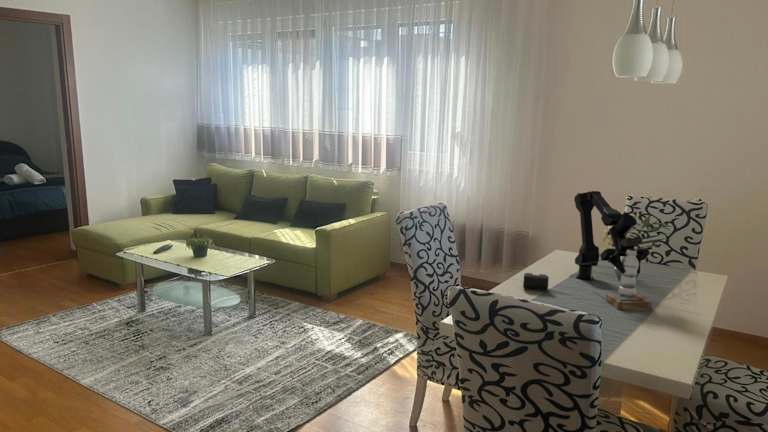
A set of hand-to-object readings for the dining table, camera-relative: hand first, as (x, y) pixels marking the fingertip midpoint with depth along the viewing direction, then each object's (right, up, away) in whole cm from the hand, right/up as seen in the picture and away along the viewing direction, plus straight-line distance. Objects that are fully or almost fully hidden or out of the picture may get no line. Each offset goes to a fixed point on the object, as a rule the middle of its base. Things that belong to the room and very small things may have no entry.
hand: (631, 273), depth 228 cm
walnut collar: (0, -13, +2) cm, 13 cm away
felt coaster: (-2, -11, +13) cm, 17 cm away
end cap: (-34, -9, +17) cm, 39 cm away
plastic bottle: (0, -10, +4) cm, 11 cm away
